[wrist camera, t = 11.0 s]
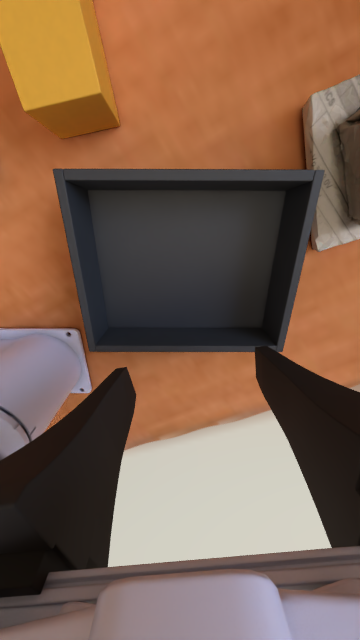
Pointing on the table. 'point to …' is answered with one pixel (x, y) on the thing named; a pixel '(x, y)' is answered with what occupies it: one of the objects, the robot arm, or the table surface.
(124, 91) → the table surface
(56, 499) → the robot arm
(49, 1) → the block
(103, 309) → the tub
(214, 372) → the table surface
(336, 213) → the packaged product
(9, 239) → the table surface
